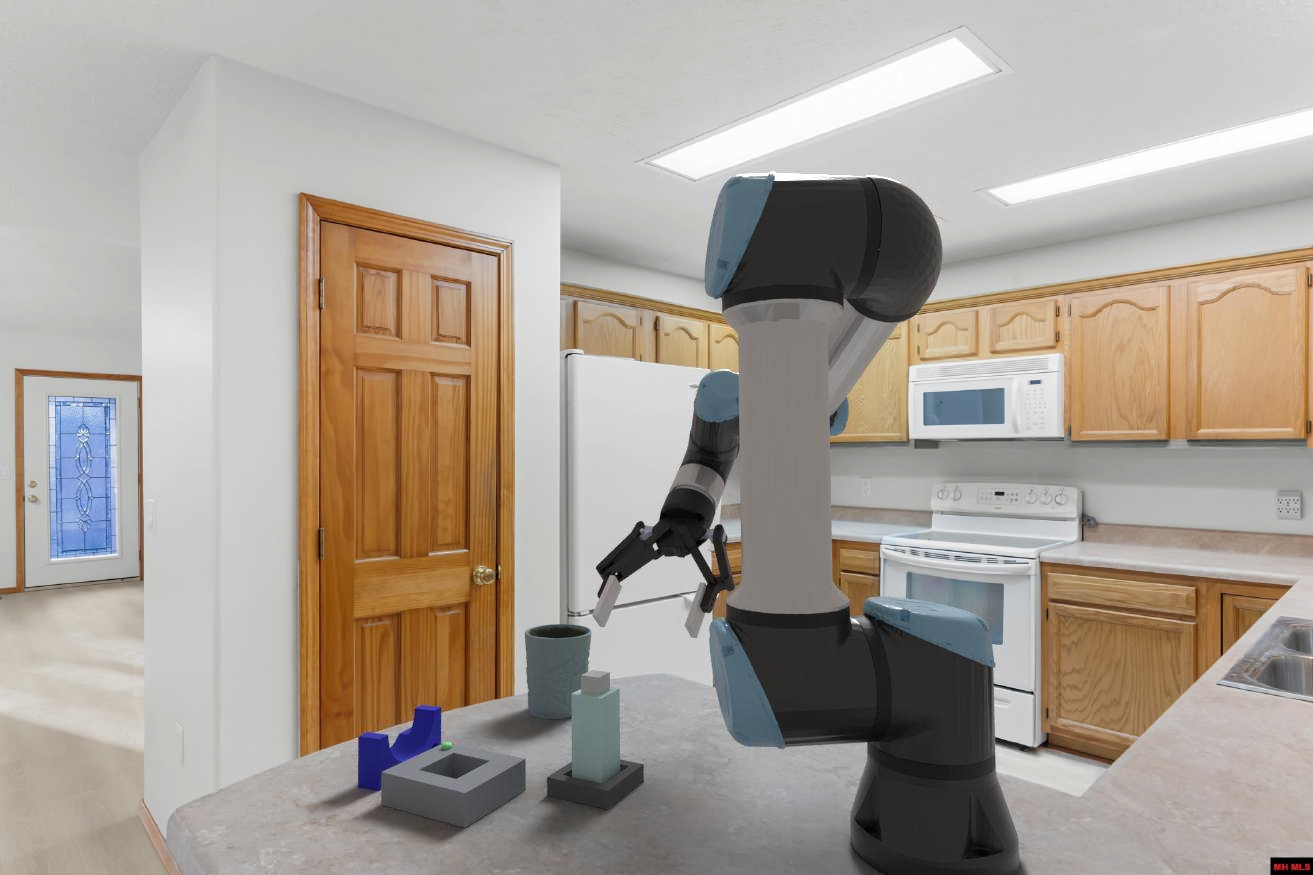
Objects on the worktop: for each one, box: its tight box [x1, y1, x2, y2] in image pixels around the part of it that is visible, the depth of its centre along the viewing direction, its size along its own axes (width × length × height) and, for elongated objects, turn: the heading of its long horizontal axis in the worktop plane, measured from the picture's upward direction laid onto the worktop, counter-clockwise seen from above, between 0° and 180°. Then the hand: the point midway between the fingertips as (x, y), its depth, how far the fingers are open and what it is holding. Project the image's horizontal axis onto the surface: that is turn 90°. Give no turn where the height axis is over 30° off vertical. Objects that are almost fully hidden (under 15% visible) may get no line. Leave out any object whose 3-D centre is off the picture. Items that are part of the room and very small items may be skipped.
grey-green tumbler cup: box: [524, 623, 593, 720], centre depth 114 cm, size 10×10×12 cm
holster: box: [546, 758, 645, 811], centre depth 86 cm, size 8×8×2 cm
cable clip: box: [357, 704, 442, 792], centre depth 92 cm, size 12×4×6 cm, turn 162°
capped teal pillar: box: [571, 669, 621, 784], centre depth 86 cm, size 4×4×13 cm
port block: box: [380, 741, 527, 829], centre depth 84 cm, size 12×10×4 cm
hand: (642, 626), depth 96 cm, fingers open, 13 cm apart
